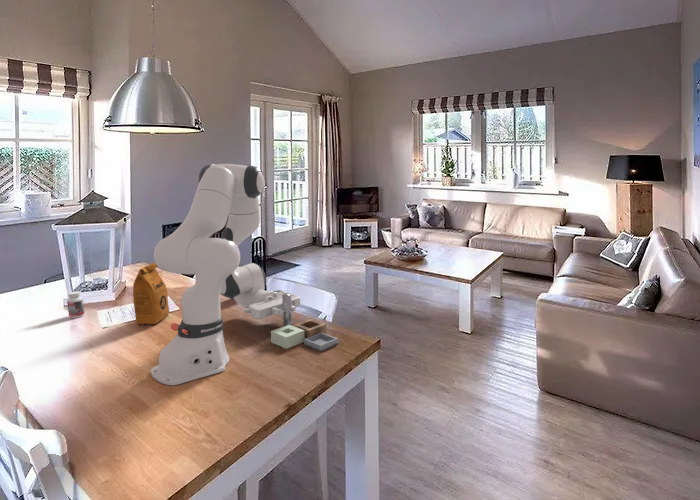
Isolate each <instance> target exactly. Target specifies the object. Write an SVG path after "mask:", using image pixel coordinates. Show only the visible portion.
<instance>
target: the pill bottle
mask: <svg viewBox="0 0 700 500" xmlns="http://www.w3.org/2000/svg"><path fill="white" fill-rule="evenodd" d="M80 292H81V291H76V290H75V291H71V292H68V295H67V296H68V298H67V299H66V303H67V304H66V305H67V311H68V317H69V318H71V319H79V318H82V317H84V316H85V312H86V311H85V305H84V298H83V297H82V296H81V293H80Z"/></svg>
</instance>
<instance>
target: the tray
mask: <svg viewBox="0 0 700 500" xmlns="http://www.w3.org/2000/svg"><path fill="white" fill-rule="evenodd" d="M303 343H304V344H303V345H304V346H305V347H309V348H311V349H313V350H316V351H319V352H324V351H325V350H327V349H330V348H332V347H334V346H337V345H339V338H338V337H336V336H332V335H330V334H328V333H327V334H325V333H322V332H321V333H318V334H316V335H313V336H311V337H308V338H306V339H304V342H303Z"/></svg>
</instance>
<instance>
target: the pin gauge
mask: <svg viewBox="0 0 700 500" xmlns="http://www.w3.org/2000/svg"><path fill="white" fill-rule="evenodd" d="M291 294H292V293H290V292H285V293H284V294H282V301H283V309H285V311H286V312H285V313H286V314H284V315H282V322H283V325H282V327H284V326H287V325H291V326H293V312H292V298H291Z"/></svg>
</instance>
